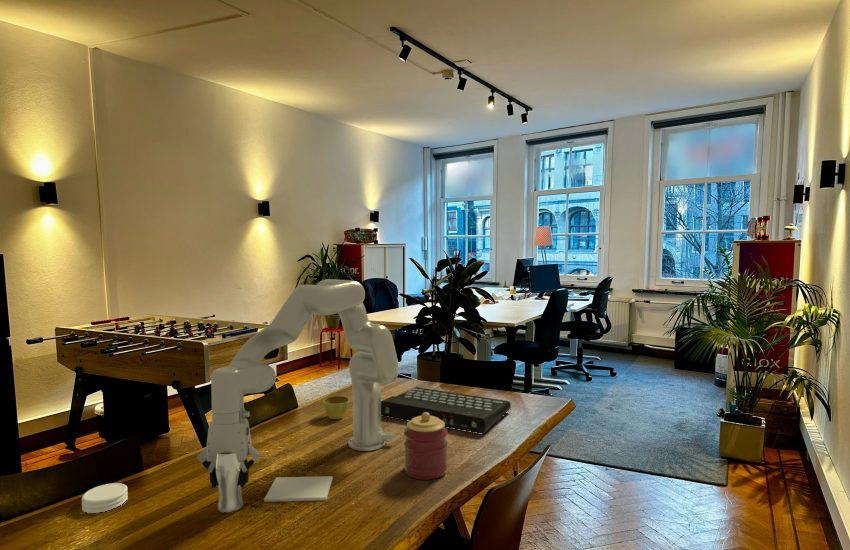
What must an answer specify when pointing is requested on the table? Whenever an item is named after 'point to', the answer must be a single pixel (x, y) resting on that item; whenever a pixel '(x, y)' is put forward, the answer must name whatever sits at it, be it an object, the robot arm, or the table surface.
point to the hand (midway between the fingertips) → (229, 484)
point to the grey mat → (299, 489)
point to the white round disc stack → (104, 498)
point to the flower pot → (336, 406)
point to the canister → (425, 447)
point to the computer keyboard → (447, 408)
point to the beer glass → (228, 482)
